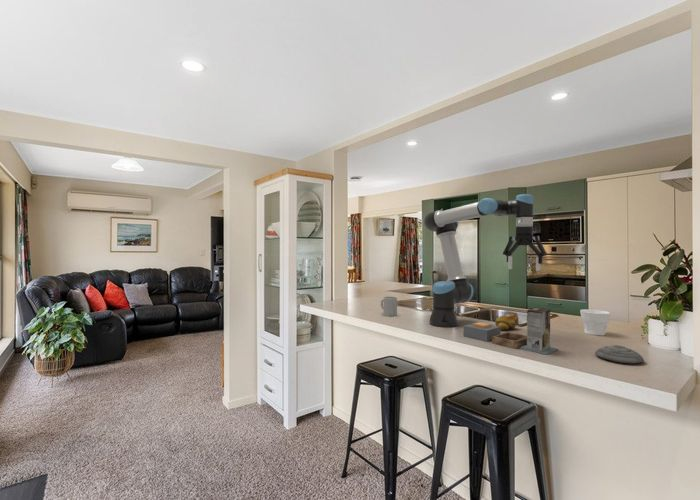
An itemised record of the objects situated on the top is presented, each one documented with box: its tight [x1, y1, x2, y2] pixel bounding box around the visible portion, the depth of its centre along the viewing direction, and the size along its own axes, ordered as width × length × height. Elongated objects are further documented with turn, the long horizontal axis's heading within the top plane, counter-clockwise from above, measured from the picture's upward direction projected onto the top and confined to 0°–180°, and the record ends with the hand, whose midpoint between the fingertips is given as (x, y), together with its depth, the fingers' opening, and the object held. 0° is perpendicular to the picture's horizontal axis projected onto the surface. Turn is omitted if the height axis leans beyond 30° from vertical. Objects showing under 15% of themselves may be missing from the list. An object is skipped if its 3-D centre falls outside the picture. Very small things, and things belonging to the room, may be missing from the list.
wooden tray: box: [491, 331, 527, 350], centre depth 159 cm, size 11×14×3 cm
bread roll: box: [494, 313, 519, 331], centre depth 187 cm, size 13×10×8 cm
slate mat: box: [518, 345, 559, 356], centre depth 150 cm, size 11×11×1 cm
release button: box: [472, 321, 492, 328], centre depth 170 cm, size 6×6×5 cm
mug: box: [380, 296, 398, 317], centre depth 224 cm, size 12×8×11 cm
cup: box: [579, 308, 611, 336], centre depth 178 cm, size 12×12×11 cm
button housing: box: [463, 323, 502, 342], centre depth 170 cm, size 12×12×5 cm
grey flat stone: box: [594, 344, 645, 364], centre depth 138 cm, size 15×15×6 cm
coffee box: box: [526, 307, 551, 351], centre depth 150 cm, size 9×6×16 cm
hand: (523, 269), depth 175 cm, fingers open, 13 cm apart
